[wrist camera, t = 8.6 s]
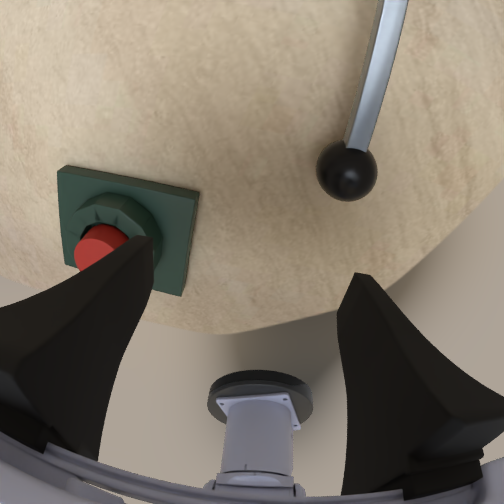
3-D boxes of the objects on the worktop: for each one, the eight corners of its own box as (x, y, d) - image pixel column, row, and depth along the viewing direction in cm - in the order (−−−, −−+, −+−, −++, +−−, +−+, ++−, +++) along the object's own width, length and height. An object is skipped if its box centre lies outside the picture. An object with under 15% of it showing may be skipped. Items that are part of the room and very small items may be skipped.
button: (135, 230, 18) (124, 246, 17) (134, 276, 20) (124, 293, 19) (84, 218, 18) (71, 232, 17) (87, 263, 20) (76, 278, 19)
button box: (199, 191, 20) (188, 213, 17) (184, 286, 24) (175, 314, 22) (65, 164, 19) (41, 181, 16) (71, 256, 23) (53, 278, 21)
